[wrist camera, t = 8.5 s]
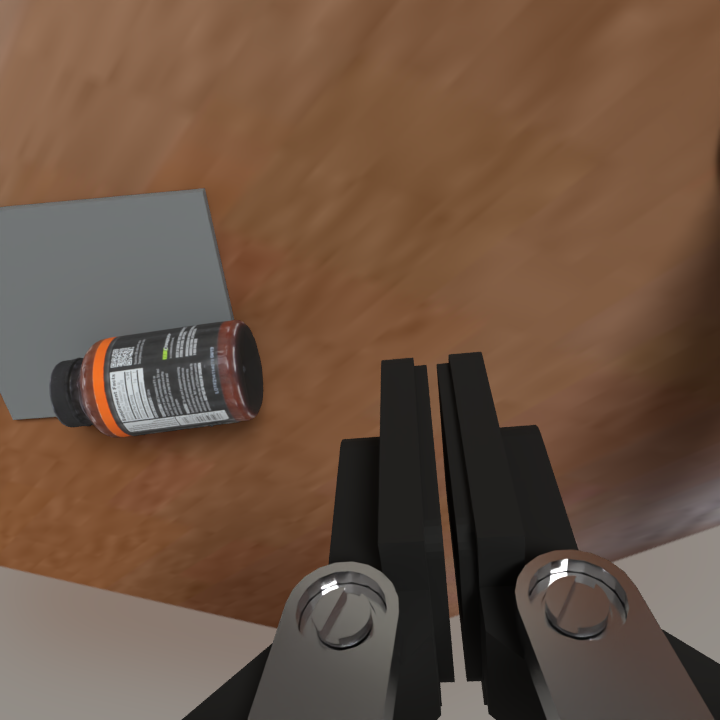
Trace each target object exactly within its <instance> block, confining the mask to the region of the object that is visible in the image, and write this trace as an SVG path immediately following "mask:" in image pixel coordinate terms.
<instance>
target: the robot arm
mask: <svg viewBox="0 0 720 720" xmlns="http://www.w3.org/2000/svg"><path fill="white" fill-rule="evenodd" d="M437 376H438V389H439V402H440V416H441V429H442V442H443V456H444V469H445V482H446V494H447V504H448V513H449V522H450V531H451V540H452V550H453V559H454V568H455V577H456V586H457V596H458V605H459V614H460V623H461V632H462V641H463V650H464V659H465V669H466V678H467V681H481V682H482V690H483V698H484V705H488V712H489V714H490V715H491V716H492V717H493V718H495V719H496V720H720V664H719V663H717V662H715V661H714V660H712V659H710V658H709V657H707V656H705V655H704V654H702V653H700V652H699V651H697V650H695V649H694V648H692V647H691V646H689V645H687V644H686V643H684V642H682V641H680V640H679V639H677V638H676V637H674V636H672V635H671V634H669V633H667V632H666V631H664V630H662V629H661V628H660V626H659V624H658V623H657V621H656V619H655V617H654V616H653V614H652V612H651V611H650V609H649V607H648V606H647V604H646V602H645V600H644V599H643V597H642V595H641V594H640V592H639V590H638V588H637V587H636V585H635V584H634V583H633V582H632V581H631V579H630V578H629V577H628V576H627V574H626V573H625V572H624V571H623V570H621V569H620V568H618V567H617V566H616V565H614V564H613V563H612V562H610V561H609V560H606V559H604V558H602V557H600V556H597V555H595V554H593V553H589V552H583V551H579V550H578V547H577V544H576V541H575V538H574V535H573V532H572V529H571V526H570V523H569V520H568V516H567V513H566V510H565V507H564V504H563V501H562V498H561V495H560V492H559V489H558V486H557V482H556V479H555V476H554V473H553V470H552V467H551V464H550V461H549V458H548V455H547V451H546V448H545V445H544V442H543V439H542V436H541V433H540V431H539V428H538V427H537V426H536V425H529V426H516V427H502V428H500V427H499V423H498V419H497V415H496V411H495V407H494V402H493V398H492V394H491V390H490V386H489V381H488V377H487V373H486V369H485V365H484V360H483V356H482V353H481V352H473V353H461V354H450V355H449V363H444V364H437ZM440 682H455V680H454V667H453V655H452V643H451V631H450V619H449V607H448V595H447V583H446V571H445V559H444V548H443V536H442V525H441V514H440V504H439V493H438V483H437V472H436V461H435V451H434V440H433V429H432V419H431V408H430V397H429V387H428V376H427V366H426V365H421V366H414V360H413V358H404V359H393V360H382V361H381V404H380V437H369V438H356V439H343V440H342V442H341V447H340V456H339V465H338V475H337V485H336V495H335V505H334V515H333V525H332V535H331V545H330V555H329V565H327V566H324V567H321V568H318V569H317V570H315V571H314V572H312V573H310V574H309V575H307V576H305V577H304V578H303V579H302V580H301V581H300V582H299V584H298V585H297V586H296V587H295V588H294V589H293V590H292V592H291V594H290V596H289V598H288V600H287V602H286V604H285V607H284V610H283V613H282V616H281V619H280V622H279V625H278V628H277V631H276V635H275V638H274V641H273V643H272V644H271V645H270V646H269V647H267V648H266V649H265V650H264V651H263V652H261V653H260V654H259V655H258V656H257V657H256V658H255V659H253V660H252V661H251V662H250V663H248V664H247V665H246V666H245V667H244V668H243V669H241V670H240V671H239V672H238V673H237V674H235V675H234V676H233V677H232V678H231V679H229V680H228V681H227V682H226V683H225V684H223V685H222V686H221V687H220V688H219V689H218V690H216V691H215V692H214V693H213V694H212V695H210V697H208V698H207V699H206V700H205V701H203V702H202V703H201V704H200V705H199V706H197V707H196V708H195V709H194V710H193V711H191V712H190V713H189V714H188V715H187V716H186V717H184V718H183V719H182V720H437V719H438V718H439V717H440V716H441V706H442V703H441V690H440V689H441V688H440Z"/></svg>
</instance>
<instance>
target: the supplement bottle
mask: <svg viewBox="0 0 720 720" xmlns="http://www.w3.org/2000/svg"><path fill="white" fill-rule="evenodd" d="M49 396H50V402H51V405H52V408H53V411H54V413H55V415H56V416H57V418H58V420H59V421H60V422H61V423H62V424H64V425H65V426H68V427H79V426H91V425H94V426H95V427H96V428H97V429H98V430H99V431H101V432H102V433H104V434H105V435H108V436H111V437H127V436H137V435H145V434H150V433H158V432H167V431H174V430H182V429H189V428H197V427H204V426H211V427H213V426H214V425H220V424H228V423H238V422H240V421H246V420H251V419H253V418H254V417H255V416H256V415H257V414H258V412H259V410H260V407H261V404H262V399H263V377H262V366H261V361H260V357H259V353H258V349H257V345H256V342H255V339H254V337H253V335H252V332H251V330H250V328H249V327H248V326H247V325H246V324H245V323H244V322H242V321H240V320H231V321H224V322H214V323H207V324H200V325H193V326H187V327H180V328H173V329H167V330H159V331H152V332H145V333H138V334H132V335H125V336H119V337H111V338H107V339H102V340H100V341H98V342H96V343H94V344H93V345H92V346H91V347H90V348H89V350H88V351H87V352H86V354H85V356H84V358H76V359H72V360H66V361H62V362H59V363H58V364H57V365H56V366H55V367H54V369H53V370H52V373H51V376H50V381H49Z"/></svg>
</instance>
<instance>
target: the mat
mask: <svg viewBox="0 0 720 720" xmlns="http://www.w3.org/2000/svg"><path fill="white" fill-rule="evenodd" d="M231 320H234V317H233V313H232V308H231V304H230V299H229V295H228V290H227V286H226V281H225V277H224V272H223V268H222V263H221V259H220V254H219V250H218V246H217V241H216V237H215V232H214V228H213V223H212V219H211V214H210V210H209V205H208V201H207V196H206V192H205V188H204V189H193V190H182V191H171V192H160V193H149V194H138V195H127V196H116V197H105V198H95V199H84V200H73V201H62V202H51V203H40V204H29V205H18V206H7V207H0V393H1V395H2V397H3V399H4V402H5V404H6V406H7V408H8V410H9V412H10V414H11V416H12V418H13V420H17V419H30V418H44V417H57V416H56V415H55V413H54V411H53V408H52V405H51V402H50V396H49V381H50V376H51V373H52V370H53V369H54V367H55V366H56V365H57V364H58V363H59V362H62V361H66V360H72V359H76V358H84V356H85V354H86V352H87V351H88V350H89V348H90V347H91V346H92V345H93V344H94V343H96V342H98V341H100V340H102V339H107V338H111V337H119V336H125V335H132V334H138V333H145V332H152V331H159V330H167V329H173V328H180V327H187V326H193V325H200V324H207V323H214V322H224V321H231Z"/></svg>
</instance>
